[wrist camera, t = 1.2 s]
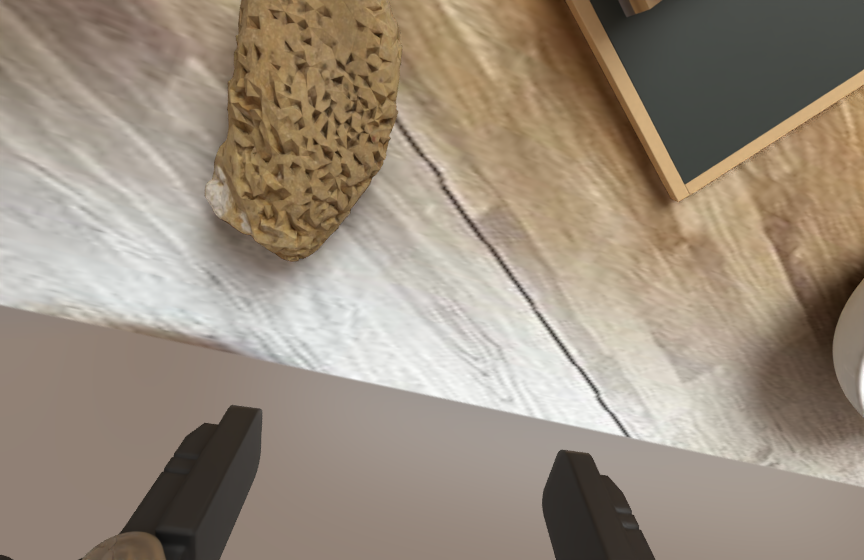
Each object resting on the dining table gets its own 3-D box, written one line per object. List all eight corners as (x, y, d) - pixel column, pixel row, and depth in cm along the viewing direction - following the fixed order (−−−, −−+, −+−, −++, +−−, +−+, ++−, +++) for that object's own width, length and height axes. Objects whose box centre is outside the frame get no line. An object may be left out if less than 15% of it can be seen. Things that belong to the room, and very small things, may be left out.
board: (537, -52, 30) (541, -57, 29) (786, -259, 26) (802, -274, 25) (670, 199, 37) (678, 202, 36) (884, 62, 33) (900, 61, 32)
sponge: (336, 248, 39) (480, 38, 30) (288, 287, 33) (454, 33, 23) (213, 150, 38) (320, -101, 29) (137, 170, 32) (244, -150, 22)
